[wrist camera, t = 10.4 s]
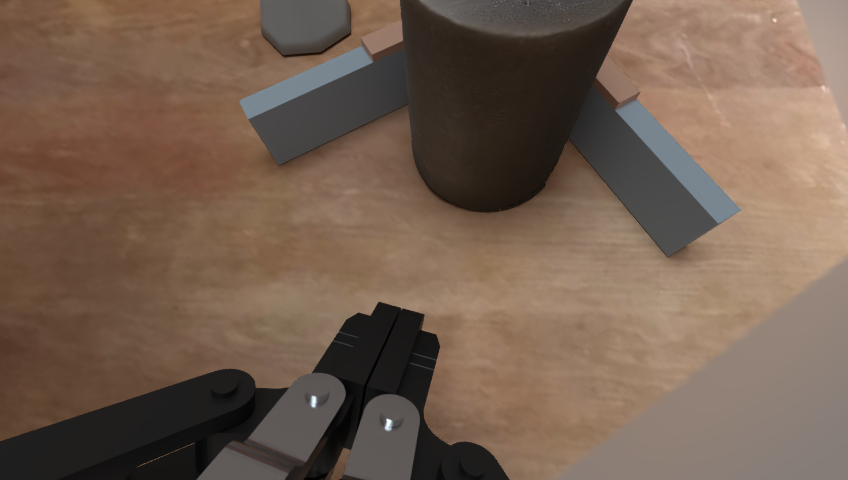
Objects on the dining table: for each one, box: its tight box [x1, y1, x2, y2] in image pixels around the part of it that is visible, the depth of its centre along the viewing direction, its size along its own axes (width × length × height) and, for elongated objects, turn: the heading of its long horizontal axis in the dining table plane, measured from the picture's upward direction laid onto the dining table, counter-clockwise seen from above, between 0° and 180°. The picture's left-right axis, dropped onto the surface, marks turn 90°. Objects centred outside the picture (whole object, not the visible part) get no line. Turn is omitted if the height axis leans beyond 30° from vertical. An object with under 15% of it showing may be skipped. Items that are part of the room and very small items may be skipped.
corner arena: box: [239, 20, 741, 257], centre depth 25 cm, size 20×20×6 cm
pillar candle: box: [400, 0, 633, 211], centre depth 22 cm, size 10×10×15 cm
